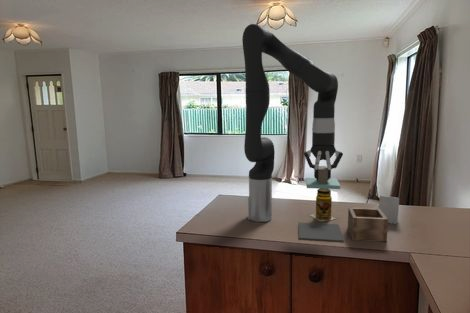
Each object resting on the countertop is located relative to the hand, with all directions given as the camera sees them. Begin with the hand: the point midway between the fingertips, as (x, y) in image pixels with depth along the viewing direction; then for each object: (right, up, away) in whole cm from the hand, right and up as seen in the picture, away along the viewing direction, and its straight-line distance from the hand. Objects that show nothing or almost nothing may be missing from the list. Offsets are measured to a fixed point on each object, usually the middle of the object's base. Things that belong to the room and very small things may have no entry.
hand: (322, 179), depth 116 cm
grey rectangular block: (+29, -18, +13) cm, 37 cm away
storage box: (+16, -20, 0) cm, 25 cm away
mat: (0, -19, +3) cm, 20 cm away
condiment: (+5, -17, +18) cm, 26 cm away
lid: (0, -2, 0) cm, 2 cm away
